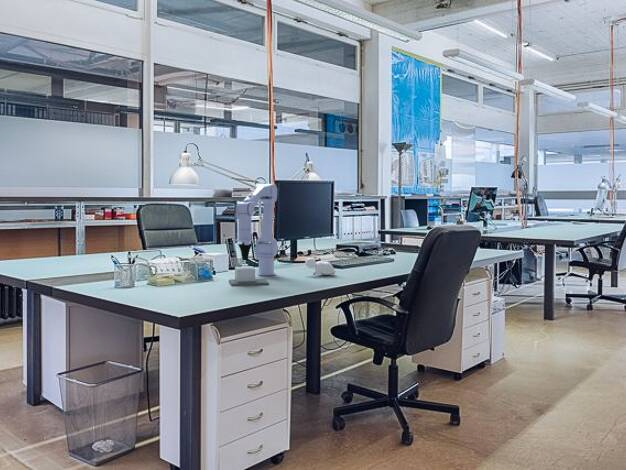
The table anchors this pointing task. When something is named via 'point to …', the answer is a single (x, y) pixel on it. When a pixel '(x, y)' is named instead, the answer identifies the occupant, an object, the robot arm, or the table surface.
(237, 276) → the small box
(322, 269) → the white animal figurine
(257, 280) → the mat
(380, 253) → the table surface
